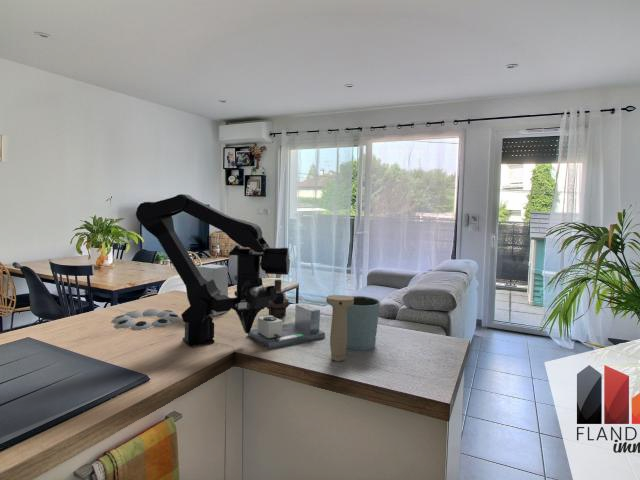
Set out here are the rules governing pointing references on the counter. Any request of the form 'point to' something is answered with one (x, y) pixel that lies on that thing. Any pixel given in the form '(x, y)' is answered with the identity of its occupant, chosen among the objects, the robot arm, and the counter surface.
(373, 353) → the counter surface
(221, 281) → the skincare box
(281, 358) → the counter surface
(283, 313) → the industrial component
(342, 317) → the handle
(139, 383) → the counter surface
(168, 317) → the grey flat openwork piece
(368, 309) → the teal cup
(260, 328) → the white box with dome
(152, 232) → the robot arm
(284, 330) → the bench
